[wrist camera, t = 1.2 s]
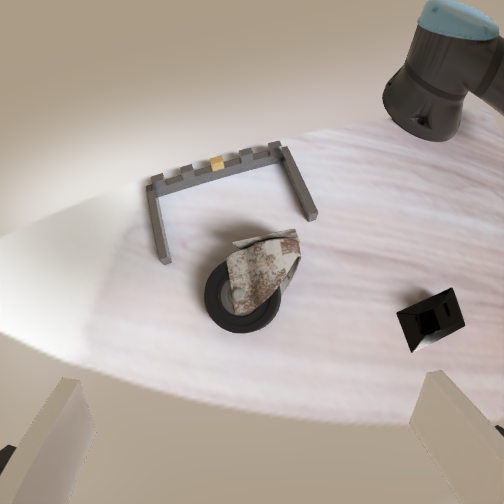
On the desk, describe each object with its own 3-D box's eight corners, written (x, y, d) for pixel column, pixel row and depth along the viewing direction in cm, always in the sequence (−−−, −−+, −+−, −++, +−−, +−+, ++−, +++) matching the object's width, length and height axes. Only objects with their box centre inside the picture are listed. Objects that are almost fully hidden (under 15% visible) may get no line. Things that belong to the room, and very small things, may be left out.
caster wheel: (222, 335, 39) (210, 256, 41) (314, 320, 37) (299, 237, 39) (202, 339, 33) (189, 246, 35) (312, 322, 30) (293, 223, 33)
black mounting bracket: (455, 280, 38) (472, 270, 34) (472, 328, 36) (491, 322, 31) (382, 311, 37) (396, 303, 33) (401, 366, 35) (417, 364, 30)
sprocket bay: (286, 154, 45) (287, 138, 42) (315, 219, 41) (320, 206, 38) (150, 193, 44) (142, 179, 40) (164, 265, 40) (155, 254, 36)
